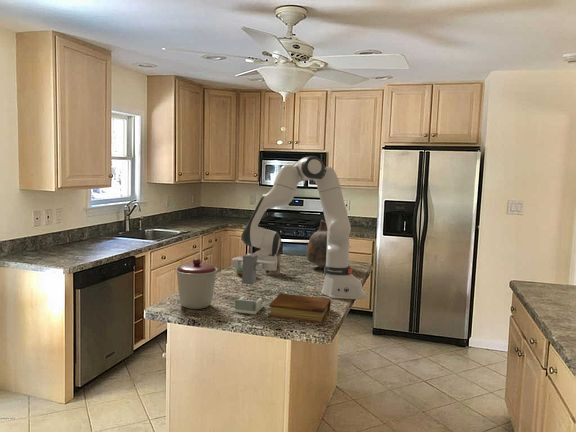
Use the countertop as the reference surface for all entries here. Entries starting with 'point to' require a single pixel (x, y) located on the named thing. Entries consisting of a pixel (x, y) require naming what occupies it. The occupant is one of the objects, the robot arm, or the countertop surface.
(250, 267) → the grey block with knob
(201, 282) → the canister
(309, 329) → the countertop surface
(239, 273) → the food container
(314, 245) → the jug
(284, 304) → the diary
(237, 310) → the pocket
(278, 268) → the coffee box
